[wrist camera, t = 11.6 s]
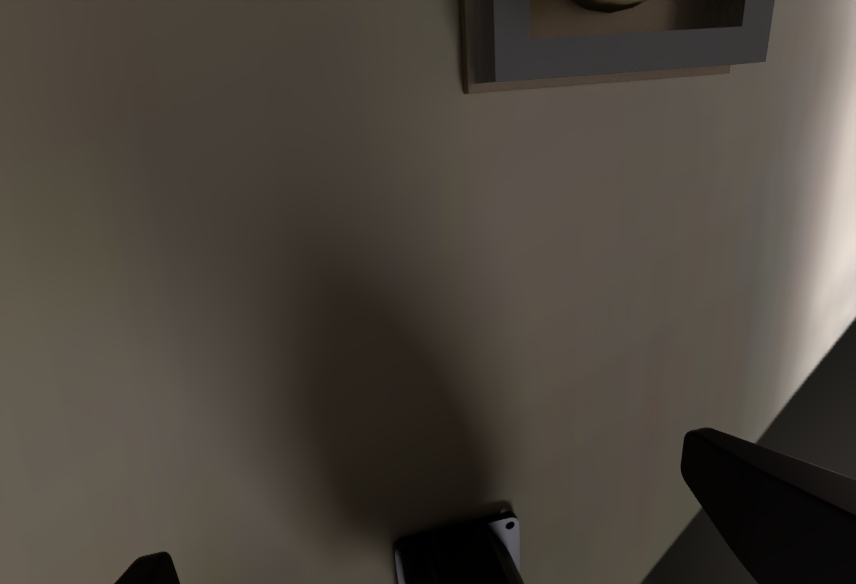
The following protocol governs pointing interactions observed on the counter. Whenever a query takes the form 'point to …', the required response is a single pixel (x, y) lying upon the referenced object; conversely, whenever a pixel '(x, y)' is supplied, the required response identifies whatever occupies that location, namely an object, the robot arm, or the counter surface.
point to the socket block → (606, 41)
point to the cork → (608, 5)
